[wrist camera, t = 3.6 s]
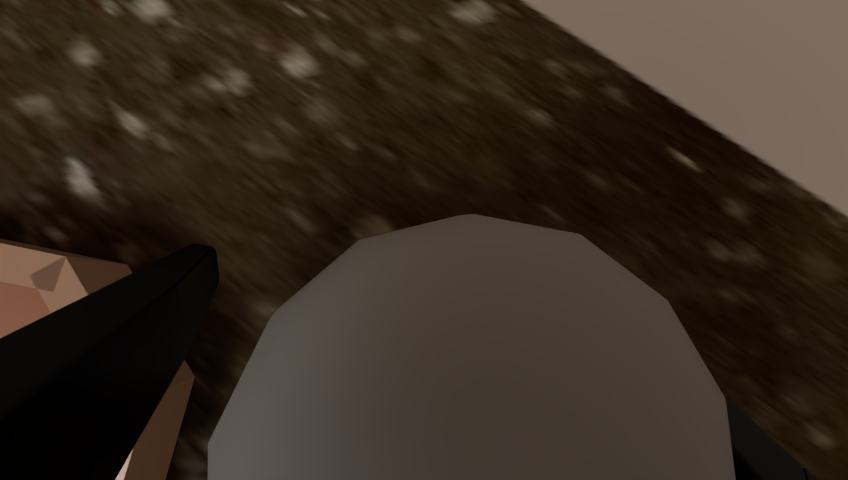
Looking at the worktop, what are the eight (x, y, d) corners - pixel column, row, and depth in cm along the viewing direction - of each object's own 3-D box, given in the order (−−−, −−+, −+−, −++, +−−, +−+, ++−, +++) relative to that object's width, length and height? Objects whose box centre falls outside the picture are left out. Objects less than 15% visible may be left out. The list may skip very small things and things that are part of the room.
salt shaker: (438, 444, 15) (806, 1285, 2) (289, 383, 15) (-272, 955, 2) (496, 293, 16) (982, 276, 3) (358, 233, 16) (289, -50, 3)
